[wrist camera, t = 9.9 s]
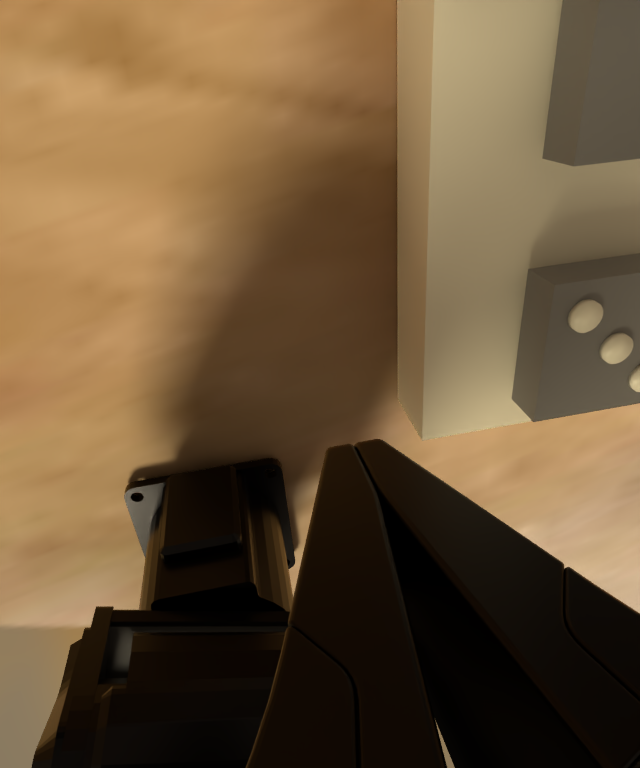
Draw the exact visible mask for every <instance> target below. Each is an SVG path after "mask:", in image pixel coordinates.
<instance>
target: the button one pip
mask: <svg viewBox="0 0 640 768" xmlns="http://www.w3.org/2000/svg"><path fill="white" fill-rule="evenodd" d="M542 159H546V160H550V161H554V162H558V163H562V164H566V165H570V166H582V165H590V164H599V163H607V162H616V161H624V160H633V159H640V0H563V1H562V9H561V17H560V24H559V32H558V40H557V48H556V56H555V63H554V71H553V79H552V87H551V95H550V102H549V110H548V118H547V126H546V134H545V141H544V149H543V157H542Z"/></svg>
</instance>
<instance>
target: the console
mask: <svg viewBox="0 0 640 768" xmlns="http://www.w3.org/2000/svg"><path fill="white" fill-rule="evenodd" d="M562 1H563V0H397V296H398V401H399V402H400V404H401V406H402V407H403V409H404V411H405V412H406V414H407V416H408V418H409V419H410V421H411V423H412V424H413V426H414V428H415V429H416V431H417V433H418V435H419V436H420V438H421V440H422V441H423V440H429V439H434V438H440V437H446V436H451V435H457V434H463V433H468V432H474V431H479V430H485V429H491V428H496V427H502V426H508V425H513V424H519V423H525V422H530V421H532V420H531V419H530V418H529V417H528V416H527V415H526V414H525V413H524V412H523V410H522V409H521V408H520V407H519V406H518V405H517V404H516V403H515V402H514V401H513V400H512V391H513V383H514V375H515V367H516V360H517V352H518V344H519V336H520V328H521V321H522V313H523V305H524V297H525V289H526V281H527V274H528V269H531V268H538V267H545V266H552V265H559V264H566V263H573V262H580V261H587V260H594V259H602V258H609V257H616V256H623V255H630V254H637V253H640V159H633V160H624V161H616V162H607V163H599V164H590V165H582V166H570V165H566V164H562V163H558V162H554V161H550V160H546V159H542V157H543V149H544V141H545V134H546V126H547V118H548V110H549V102H550V95H551V87H552V79H553V71H554V63H555V56H556V48H557V40H558V32H559V24H560V17H561V9H562Z"/></svg>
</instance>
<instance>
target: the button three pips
mask: <svg viewBox="0 0 640 768" xmlns="http://www.w3.org/2000/svg"><path fill="white" fill-rule="evenodd" d="M512 400H513V401H514V402H515V403H516V404H517V405H518V406H519V407H520V408H521V409H522V410H523V412H524V413H525V414H526V415H527V416H528V417H529V418H530V419H531V420H532V421H533V422H536V421H542V420H548V419H553V418H559V417H565V416H570V415H576V414H581V413H587V412H593V411H598V410H604V409H610V408H615V407H621V406H627V405H632V404H638V403H640V253H637V254H630V255H623V256H616V257H609V258H602V259H594V260H587V261H580V262H573V263H566V264H559V265H552V266H545V267H538V268H531V269H528V274H527V281H526V289H525V297H524V305H523V313H522V321H521V328H520V336H519V344H518V352H517V360H516V367H515V375H514V383H513V391H512Z"/></svg>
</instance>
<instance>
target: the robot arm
mask: <svg viewBox="0 0 640 768" xmlns="http://www.w3.org/2000/svg"><path fill="white" fill-rule="evenodd" d="M267 469H274V471H272V472H266V470H267ZM135 492H139V493H141V494H142V495H134V494H133V493H135ZM124 498H125V502H126V505H127V508H128V510H129V513H130V516H131V519H132V522H133V525H134V527H135V530H136V533H137V536H138V539H139V542H140V544H141V547H142V550H143V553H144V556H145V566H144V574H143V582H142V590H141V598H140V606H139V610H113V607H96V609H95V613H94V617H93V621H92V625H91V628H85V629H84V633H83V636H82V639H80V640H79V641H77V642H75V643H74V644H72V645H71V646H70V650H69V655H68V659H67V663H66V667H65V671H64V676H63V680H62V683H61V687H60V690H59V694H58V697H57V700H56V702H55V705H54V707H53V710H52V712H51V715H50V717H49V719H48V722H47V724H46V727H45V729H44V731H43V734H42V736H41V739H40V741H39V744H38V746H37V749H36V751H35V755H34V759H33V764H32V768H447V766H446V762H445V758H444V754H443V750H442V746H441V742H440V738H439V734H438V730H437V726H436V722H437V725H438V727H439V729H440V732H441V735H442V737H443V739H444V742H445V744H446V747H447V749H448V752H449V754H450V757H451V759H452V762H453V764H454V767H455V768H640V613H638V612H636V611H635V610H633V609H632V608H630V607H629V606H627V605H626V604H624V603H623V602H621V601H620V600H618V599H616V598H615V597H613V596H612V595H610V594H609V593H607V592H606V591H604V590H603V589H601V588H600V587H598V586H596V585H595V584H593V583H592V582H591V581H589V580H588V579H586V578H585V577H583V576H582V575H580V574H579V573H577V572H576V571H574V570H573V569H571V568H570V567H566V568H565V569H564V564H563V563H562V562H561V561H559V560H558V559H556V558H555V557H553V556H552V555H550V554H549V553H548V552H546V551H545V550H543V549H542V548H540V547H539V546H537V545H536V544H534V543H533V542H531V541H530V540H528V539H527V538H526V537H524V536H523V535H521V534H520V533H518V532H517V531H515V530H514V529H512V528H511V527H509V526H508V525H506V524H505V523H503V522H502V521H501V520H499V519H498V518H496V517H495V516H493V515H492V514H490V513H489V512H487V511H486V510H484V509H483V508H481V507H480V506H479V505H477V504H476V503H474V502H473V501H471V500H470V499H468V498H467V497H465V496H464V495H462V494H461V493H459V492H458V491H457V490H455V489H454V488H452V487H451V486H449V485H448V484H446V483H445V482H443V481H442V480H440V479H439V478H437V477H436V476H434V475H433V474H432V473H430V472H429V471H427V470H426V469H424V468H423V467H421V466H420V465H418V464H417V463H415V462H414V461H412V460H411V459H410V458H408V457H407V456H405V455H404V454H402V453H401V452H399V451H398V450H396V449H395V448H393V447H392V446H390V445H389V444H387V443H386V442H385V441H383V440H381V439H374V440H369V441H363V442H358V443H356V444H355V446H353V445H351V444H346V445H340V446H334V447H330V448H328V449H327V450H326V453H325V458H324V462H323V467H322V471H321V476H320V480H319V485H318V489H317V494H316V498H315V503H314V507H313V512H312V516H311V521H310V525H309V530H308V534H307V539H306V543H305V548H304V552H303V557H302V561H301V566H300V570H299V575H298V579H297V584H296V588H295V593H294V597H293V594H292V588H291V582H290V576H289V570H288V569H290V568H291V567H293V566H294V564H295V556H294V549H293V542H292V535H291V528H290V521H289V515H288V508H287V501H286V494H285V487H284V480H283V473H282V468H281V464H280V462H279V461H278V460H277V459H274V458H267V459H261V460H255V461H250V462H244V463H238V464H232V465H226V466H221V467H215V468H209V469H203V470H198V471H192V472H186V473H181V474H175V475H170V476H164V477H158V478H152V479H147V480H141V481H135V482H132V483H130V484H129V485H128V486H127V487H126V490H125V495H124ZM434 717H435V718H434ZM435 720H436V722H435Z"/></svg>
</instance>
